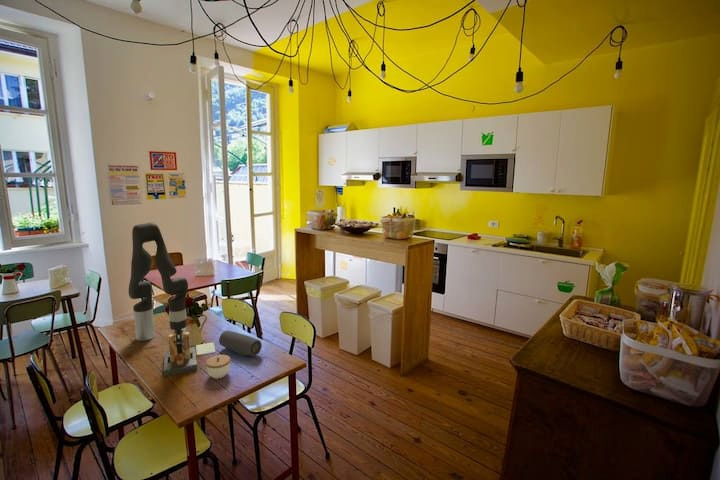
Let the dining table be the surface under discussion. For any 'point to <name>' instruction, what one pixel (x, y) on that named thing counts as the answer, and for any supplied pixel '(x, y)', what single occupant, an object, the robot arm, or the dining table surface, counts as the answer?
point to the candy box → (185, 348)
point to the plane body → (180, 364)
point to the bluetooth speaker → (240, 343)
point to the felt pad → (205, 348)
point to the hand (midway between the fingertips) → (179, 349)
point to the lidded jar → (218, 366)
